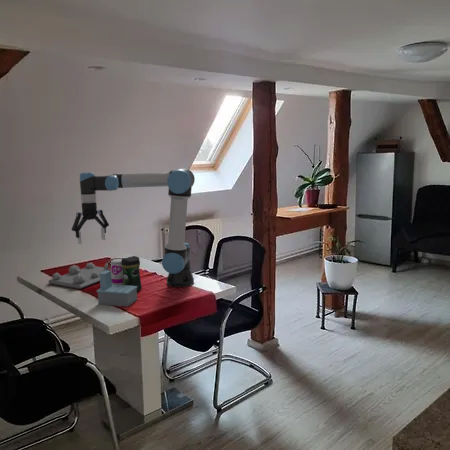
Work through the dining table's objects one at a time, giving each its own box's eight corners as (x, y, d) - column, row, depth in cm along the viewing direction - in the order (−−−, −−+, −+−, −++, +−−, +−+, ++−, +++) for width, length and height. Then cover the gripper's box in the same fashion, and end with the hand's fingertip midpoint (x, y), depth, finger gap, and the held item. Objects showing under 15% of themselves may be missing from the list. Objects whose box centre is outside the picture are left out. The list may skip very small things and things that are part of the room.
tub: (137, 299, 227) (136, 288, 226) (128, 306, 218) (127, 294, 217) (108, 297, 231) (107, 286, 230) (98, 304, 222) (97, 292, 221)
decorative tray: (91, 269, 285) (90, 254, 284) (123, 274, 274) (122, 258, 272) (47, 285, 255) (45, 268, 253) (80, 291, 243) (79, 273, 241)
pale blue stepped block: (137, 287, 226) (136, 270, 225) (127, 294, 216) (126, 276, 215) (107, 285, 230) (106, 269, 229) (96, 292, 220) (95, 274, 219)
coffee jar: (134, 287, 248) (132, 254, 245) (143, 289, 243) (142, 256, 240) (120, 291, 241) (118, 257, 237) (129, 294, 236) (127, 260, 232)
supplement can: (123, 289, 244) (121, 262, 242) (109, 288, 246) (107, 261, 243) (129, 284, 252) (128, 258, 250) (115, 284, 254) (114, 258, 251)
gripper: (106, 199, 247) (109, 237, 251) (62, 203, 230) (66, 244, 234) (113, 200, 242) (116, 238, 246) (69, 205, 225) (72, 246, 229)
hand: (91, 241), depth 240 cm, fingers open, 13 cm apart
